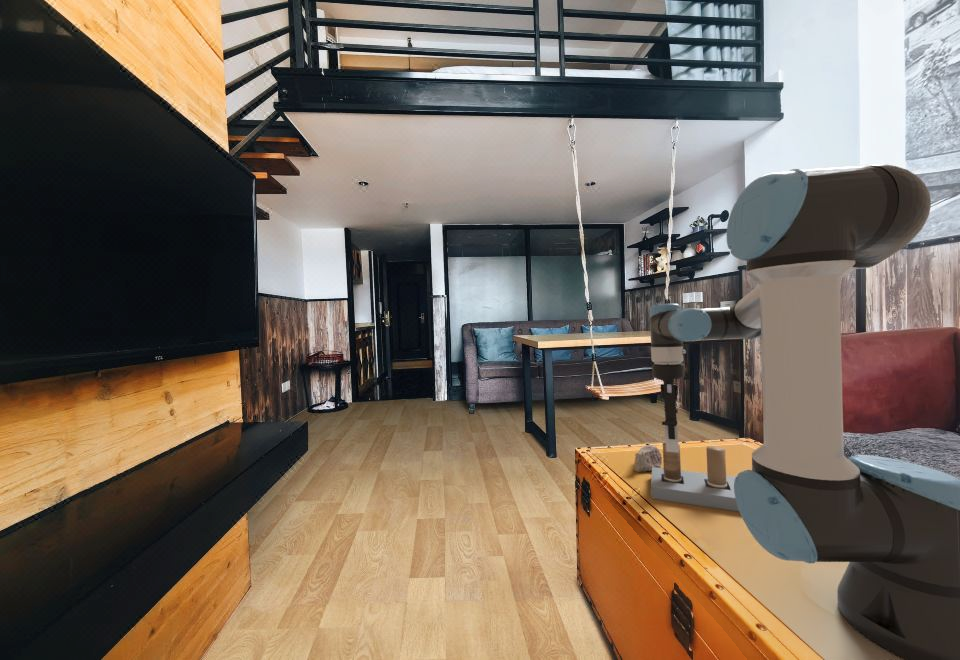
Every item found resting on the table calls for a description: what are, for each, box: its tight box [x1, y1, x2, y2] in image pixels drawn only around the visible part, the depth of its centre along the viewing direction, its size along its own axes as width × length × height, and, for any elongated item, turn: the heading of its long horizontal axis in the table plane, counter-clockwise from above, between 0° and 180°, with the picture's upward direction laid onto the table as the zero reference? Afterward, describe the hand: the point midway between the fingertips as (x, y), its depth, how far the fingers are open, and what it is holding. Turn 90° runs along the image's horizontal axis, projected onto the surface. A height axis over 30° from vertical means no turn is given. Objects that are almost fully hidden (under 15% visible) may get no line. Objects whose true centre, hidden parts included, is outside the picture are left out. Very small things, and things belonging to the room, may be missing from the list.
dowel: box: [662, 442, 682, 484], centre depth 98 cm, size 4×4×12 cm
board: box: [650, 445, 740, 513], centre depth 96 cm, size 14×20×12 cm
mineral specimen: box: [633, 444, 663, 473], centre depth 114 cm, size 13×7×6 cm, turn 146°
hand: (671, 444), depth 98 cm, fingers open, 13 cm apart
